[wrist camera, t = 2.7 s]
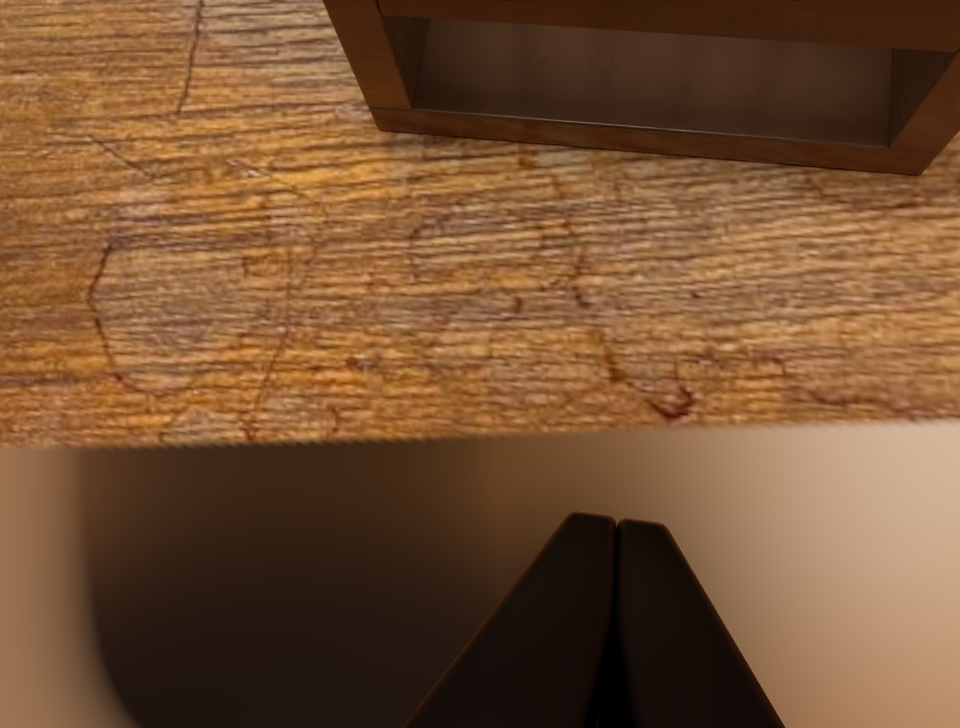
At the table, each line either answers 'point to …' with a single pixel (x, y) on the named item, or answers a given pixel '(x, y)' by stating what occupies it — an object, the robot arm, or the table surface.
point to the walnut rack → (668, 75)
